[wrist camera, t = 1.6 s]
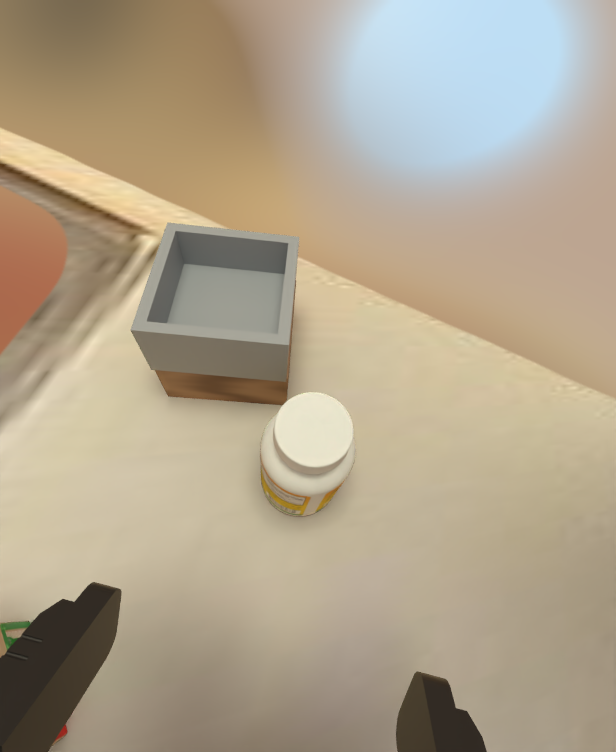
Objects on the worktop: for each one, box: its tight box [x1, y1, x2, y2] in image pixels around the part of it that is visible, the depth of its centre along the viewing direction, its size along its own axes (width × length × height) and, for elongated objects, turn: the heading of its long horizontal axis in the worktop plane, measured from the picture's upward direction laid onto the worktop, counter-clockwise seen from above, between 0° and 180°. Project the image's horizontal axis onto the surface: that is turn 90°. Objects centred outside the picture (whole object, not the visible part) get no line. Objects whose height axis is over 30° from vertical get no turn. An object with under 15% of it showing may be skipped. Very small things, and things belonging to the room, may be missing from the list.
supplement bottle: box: [260, 392, 356, 516], centre depth 23 cm, size 5×5×10 cm
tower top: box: [131, 223, 299, 382], centre depth 26 cm, size 9×9×4 cm
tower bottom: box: [155, 281, 296, 405], centre depth 30 cm, size 9×9×4 cm
